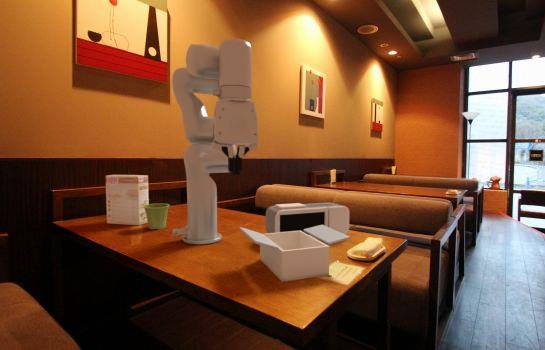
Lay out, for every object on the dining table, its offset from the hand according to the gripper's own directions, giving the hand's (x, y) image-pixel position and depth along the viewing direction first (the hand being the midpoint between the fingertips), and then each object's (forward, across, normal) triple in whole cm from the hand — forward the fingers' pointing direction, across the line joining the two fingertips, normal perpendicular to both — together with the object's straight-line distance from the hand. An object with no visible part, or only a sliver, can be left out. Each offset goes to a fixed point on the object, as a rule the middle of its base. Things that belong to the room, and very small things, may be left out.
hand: (234, 174), depth 76 cm
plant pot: (+25, -18, +53) cm, 61 cm away
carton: (+24, +15, -2) cm, 28 cm away
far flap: (+16, +24, -2) cm, 29 cm away
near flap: (+15, +5, -2) cm, 16 cm away
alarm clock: (+24, +30, +22) cm, 45 cm away
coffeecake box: (+26, -29, +66) cm, 76 cm away
